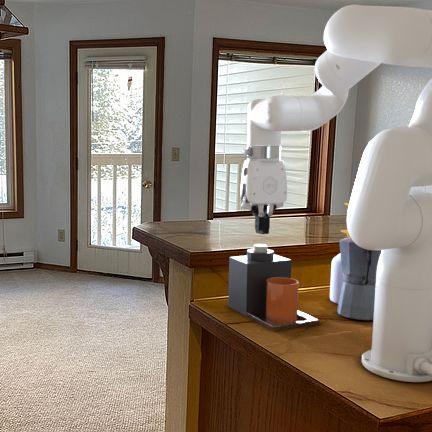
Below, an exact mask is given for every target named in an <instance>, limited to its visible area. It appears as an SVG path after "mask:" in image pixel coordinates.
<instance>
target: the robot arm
mask: <svg viewBox="0 0 432 432" xmlns="http://www.w3.org/2000/svg"><path fill="white" fill-rule="evenodd" d="M323 43H324V45H325V47H326V49H327V50H325V51H324V52H323V53H322V54H321V55H320V56H318V58H317V59H316V61H315V64H314V71H315V76H316V79H318V82H319V83H320V84H321V85H322V86H321V87H320V88H319V89H318V90H316V91H315V92H314V93H312V94H311V95H309V96H307V95H285V94H283V95H282V94H279V95H272V96H269V97H267V98H259V99H258V98H257V99H252V100H251V101H250V102H249V103H248V105H247V127H246V128H247V133H246V138H247V139H246V149H243V150H242V154H243V156H246V160H244V162H243V167H242V172H241V178H240V179H241V181H240V201H241V205H240V207H241V209H243V210H248V211H250V213H252V216H254V229H255V233H256V234H259V235H268V234H270V228H271V227H270V226H271V225H270V224H271V217H273V213H274V212H275V211H276V210H278V209H280V208H283V207H284V203H285V202H286V201H287V199H288V183H287V182H288V181H287V172H286V171H287V170H286V165H285V161H284V159H281V151H282V132H311V131H315V130H317V129H319V128H321V127H322V126H325V124H327V123H328V122H330V121H331V120H332V119H334V117H336V116H337V115H338V114H339V113H341V111H342V110H343V108H344V106H345V105H346V102H347V100H348V97H349V93H350V89H352V87H354V86H355V85H356V84H357V83H359V82H360V81H361V80H363V79H364V78H366V76H368V75H369V74H370V73H371V72H372V71H374V70H375V69H377V68H378V67H379V66H380V65H381V64H386V65H391V66H400V67H401V66H402V67H413V68H426V69H427V68H428V69H432V9H431V10H430V9H425V8H423V9H422V8H417V7H411V6H391V5H389V6H388V5H387V6H386V5H364V4H363V5H361V4H349V5H345V6H343V7H341V8H340V9H338V10H337V11H335V12H334V13H333V14H332V15H331V17H330V18H329V19H328V20H327V22H326V25H325V27H324V30H323ZM357 170H358V171H357V173H356V178H355V181H354V185H353V188H352V192H351V196H350V199H349V203H348V204H349V206H347V213H346V230H348V233H349V235H350V237H351V239H352V240H353V241H354V242H355V244H357V245H358V246H359V247H361V248H364V249H367V250H382V252H381V254H380V257H379V261H378V265H377V272H376V287H375V303H374V319H373V320H372V321H373V322H372V337H371V349H369V350H367V351H365V352H363V353H362V355H361V364H362V366H363V367H364V368H365V369H367V370H368V371H369V372H371V373H373V374H375V375H377V376H380V377H383V378H386V379H389V380H394V381H399V382H405V383H426V382H427V383H428V382H431V381H432V192H429V191H426V190H422V189H412V188H417V187H429V186H432V77H431V78H430V80H429V81H428V82H427V83H426V84H425V86H424V88H423V89H422V90H421V92H420V94H419V96H418V99H417V101H416V105H415V109H414V111H413V115H412V118H411V120H410V123H409V124H408V126H394V127H390V128H387V129H384V130H382V131H380V132H378V133H377V134H376V135H375V136H374V137H373V138H372V139H371V140H370V141H369V142H368V144H367V145H366V147H365V149H364V150H363V153H362V157H361V160H360V163H359V166H358V169H357Z"/></svg>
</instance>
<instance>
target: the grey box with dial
mask: <svg viewBox="0 0 432 432" xmlns="http://www.w3.org/2000/svg"><path fill="white" fill-rule="evenodd" d="M228 259H229V260H228V262H229V263H228V301H227V303H228V305H227V306H228V308H230V309H233V310H234V311H236V312H238V313H239V314H241V315H243V316H245V317H247V316H246V312H253V311H254V312H256V313H258V314H260V315H264V314H265V315H266V285H267V279H268V278H272V277H287V278H292V263H293V260H292V259H290V258H287V257H284V256H282V255H278V254H275V251H274V250H273V249H269V248H268V249H267V252H266V253H258V252H254V248H249V249H247V250H246V255H239V256H238V255H237V256H229V258H228Z"/></svg>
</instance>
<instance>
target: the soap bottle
mask: <svg viewBox="0 0 432 432" xmlns="http://www.w3.org/2000/svg"><path fill="white" fill-rule="evenodd" d="M344 206H347V207H349V203H348V202H344ZM340 233H343V234H346V237H347V238H349V237H350V235H349V233H348V229H341V230H340ZM330 266H331V268H330V284H329V285H330V286H329V299H330V302H333V303H335V304H337V305H338V304H339V299H340V294H341V290H342V284H343V282H344V280H343V272H342V266H341V252H340V253H338V254H337V255H335V256H334V257H333V258H332V260H331V265H330Z"/></svg>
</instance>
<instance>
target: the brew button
mask: <svg viewBox="0 0 432 432" xmlns="http://www.w3.org/2000/svg"><path fill="white" fill-rule="evenodd" d="M253 249H254V252H258V253H266V252H267V249H269V248H268V244H265V243H255V244H253Z"/></svg>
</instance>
